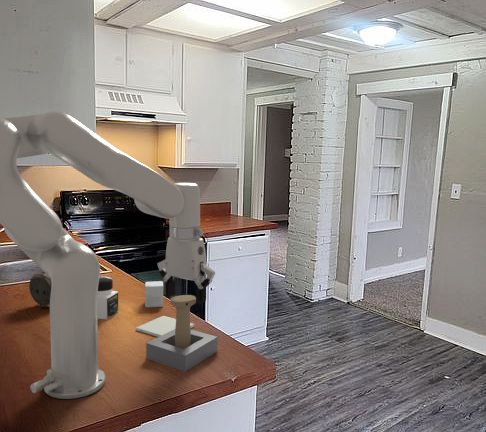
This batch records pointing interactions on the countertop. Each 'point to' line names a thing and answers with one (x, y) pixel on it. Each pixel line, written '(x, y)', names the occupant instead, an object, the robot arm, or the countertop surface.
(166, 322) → the pad
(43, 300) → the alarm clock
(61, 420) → the countertop surface
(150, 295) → the product box
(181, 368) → the pocket holder
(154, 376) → the countertop surface
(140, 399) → the countertop surface
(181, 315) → the handle
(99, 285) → the medicine bottle
